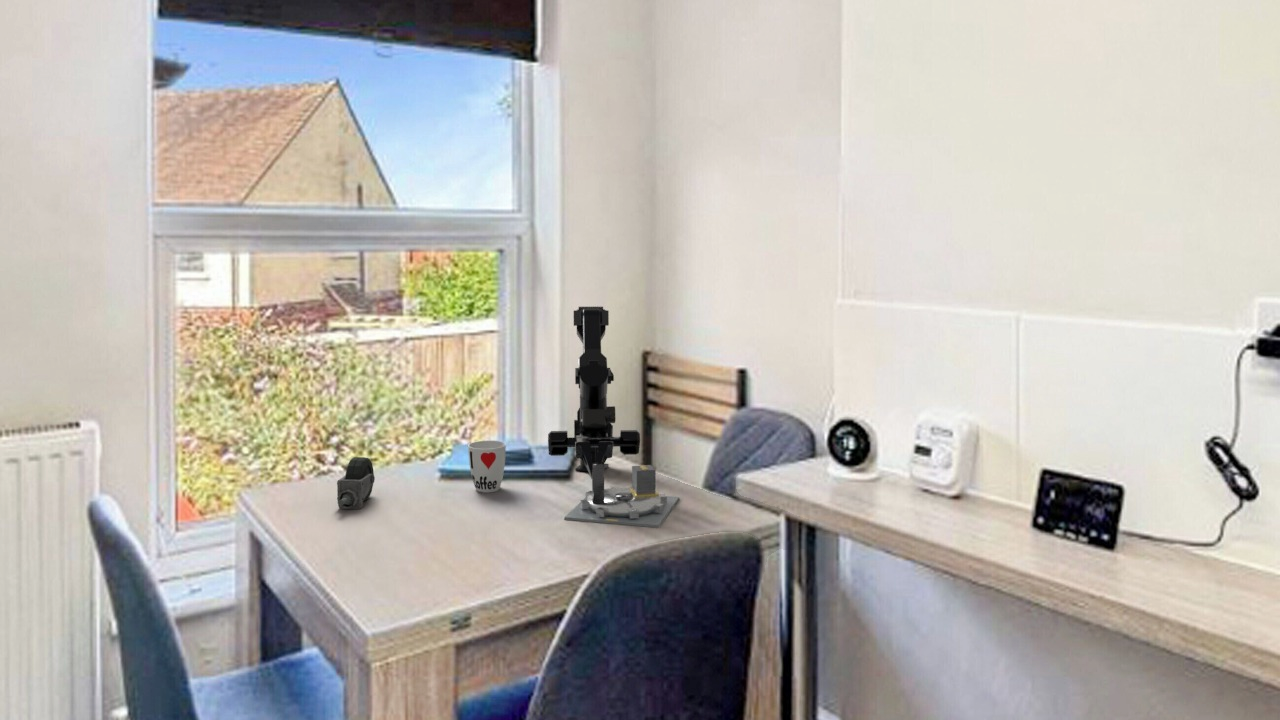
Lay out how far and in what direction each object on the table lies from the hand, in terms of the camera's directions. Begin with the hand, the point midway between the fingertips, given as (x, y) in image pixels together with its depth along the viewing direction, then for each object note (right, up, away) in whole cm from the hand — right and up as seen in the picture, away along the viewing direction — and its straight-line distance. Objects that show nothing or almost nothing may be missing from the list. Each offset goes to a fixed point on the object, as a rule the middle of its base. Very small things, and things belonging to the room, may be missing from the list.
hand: (594, 479), depth 182 cm
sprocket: (+6, -6, +3) cm, 9 cm away
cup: (-24, -5, +17) cm, 30 cm away
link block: (+10, -3, +7) cm, 12 cm away
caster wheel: (-50, -6, +6) cm, 50 cm away
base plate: (+6, -6, +3) cm, 9 cm away
